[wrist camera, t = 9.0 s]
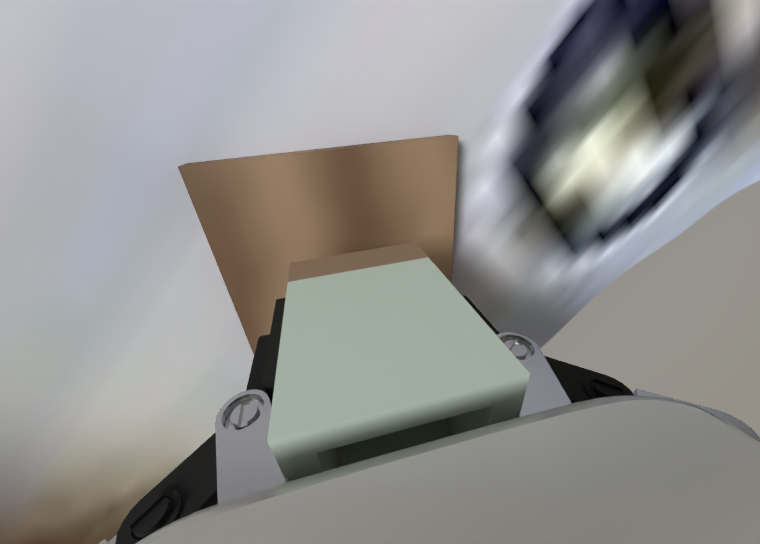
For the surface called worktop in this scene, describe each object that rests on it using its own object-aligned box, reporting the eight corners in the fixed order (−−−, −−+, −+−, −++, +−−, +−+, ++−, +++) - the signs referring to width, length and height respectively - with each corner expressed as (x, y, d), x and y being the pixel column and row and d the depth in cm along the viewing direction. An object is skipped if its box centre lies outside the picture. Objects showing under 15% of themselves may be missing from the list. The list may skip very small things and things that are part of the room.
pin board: (264, 364, 18) (250, 451, 13) (186, 163, 12) (111, 190, 7) (442, 324, 20) (485, 388, 15) (449, 134, 14) (521, 142, 9)
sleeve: (290, 262, 11) (266, 441, 5) (415, 242, 12) (530, 373, 6) (315, 357, 13) (320, 555, 7) (417, 335, 14) (499, 497, 8)
